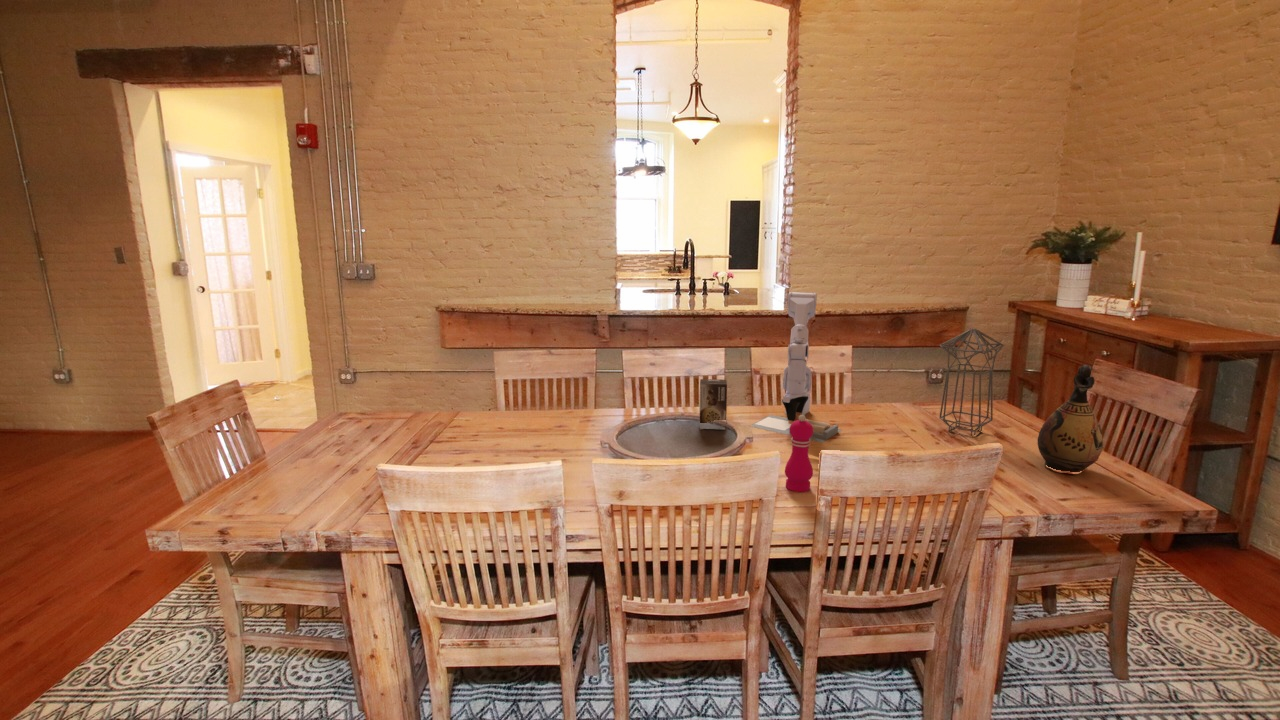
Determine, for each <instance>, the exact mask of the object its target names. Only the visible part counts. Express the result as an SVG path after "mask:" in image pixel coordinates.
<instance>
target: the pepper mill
mask: <svg viewBox="0 0 1280 720" xmlns="http://www.w3.org/2000/svg"><path fill="white" fill-rule="evenodd" d="M806 419H807V418H806V415H800V416H799V420H797V421H795V422H793V423H792V424H791V426H790V434H791V435H790V436H791V438H790V444H791V445H792V446H791V447H792V449H791V454H790V457H788V458H789V459H788V461H787V462H786V464H785V469H784V474H785V476H786V480H785V487H786V489H788V490H789V491H791V492H795V493H806V492H808V491H810V489H811V481H810V480H811V479H812V477H813V476H814V471H813V470H814V469H813V465H812V463H811V459H810V457H809V448H810V447H809V446H811V441H812V440H810V438H811V437H812V435H813V427H812V425H811V424H810V423H809V422H807V421H805V420H806Z"/></svg>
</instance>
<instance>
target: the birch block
mask: <svg viewBox="0 0 1280 720" xmlns="http://www.w3.org/2000/svg"><path fill="white" fill-rule="evenodd" d="M800 415H801V413H798V412H796V416H795V420H794V421H790V420H789V421H788V424H792V423H793V422H795V421H797V420H799V416H800ZM805 421H807V422H809V423H810V424H811V425H812V427H813V432H816V433H820V434H823V432H824V431H825V430H827V429H829V428H830V427H831V423H827V422H823V421H817V420H812V419H808V418H806V420H805Z"/></svg>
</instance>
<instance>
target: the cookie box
mask: <svg viewBox="0 0 1280 720" xmlns="http://www.w3.org/2000/svg"><path fill="white" fill-rule="evenodd" d="M727 402H728V381H727V379H720V378H719V379H714V378H707V379H706V378H700V380H699V421H700V423H707V422H711V421H714V420H726V421H727V407H728V405H727V404H728V403H727Z"/></svg>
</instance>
